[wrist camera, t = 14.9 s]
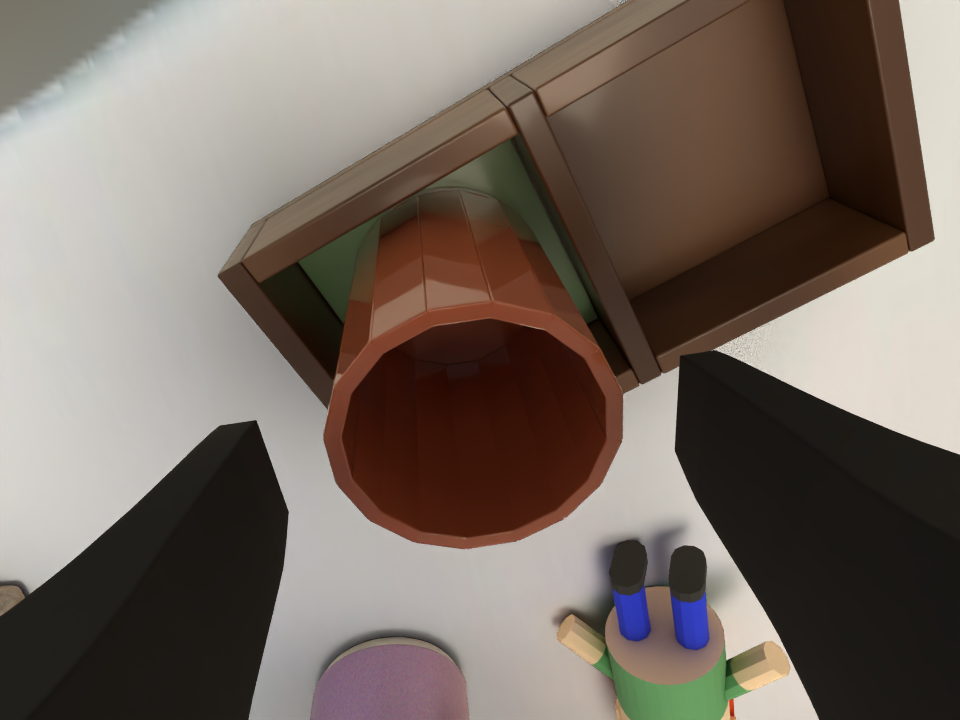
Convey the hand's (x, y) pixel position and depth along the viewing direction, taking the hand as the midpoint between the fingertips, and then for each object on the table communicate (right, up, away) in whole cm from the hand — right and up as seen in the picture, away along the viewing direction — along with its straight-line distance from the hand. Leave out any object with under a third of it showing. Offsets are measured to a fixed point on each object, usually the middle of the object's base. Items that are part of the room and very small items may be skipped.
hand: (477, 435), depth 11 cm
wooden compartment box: (+2, +5, +6) cm, 8 cm away
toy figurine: (+7, -10, +15) cm, 20 cm away
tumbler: (-1, +3, +6) cm, 7 cm away
